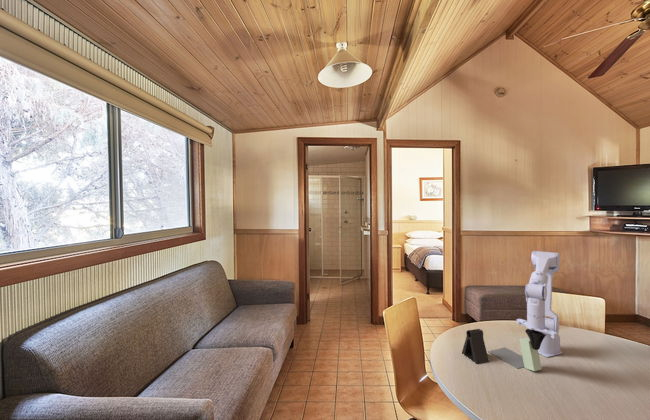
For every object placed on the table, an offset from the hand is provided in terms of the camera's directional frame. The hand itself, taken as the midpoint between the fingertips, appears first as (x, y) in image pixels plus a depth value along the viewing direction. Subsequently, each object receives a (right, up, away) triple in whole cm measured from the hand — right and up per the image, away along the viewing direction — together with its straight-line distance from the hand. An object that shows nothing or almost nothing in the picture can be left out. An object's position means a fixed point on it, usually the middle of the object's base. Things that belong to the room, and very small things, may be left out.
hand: (536, 348), depth 114 cm
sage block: (0, -8, +1) cm, 9 cm away
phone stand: (-18, -9, +11) cm, 23 cm away
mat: (-3, -9, +10) cm, 14 cm away
